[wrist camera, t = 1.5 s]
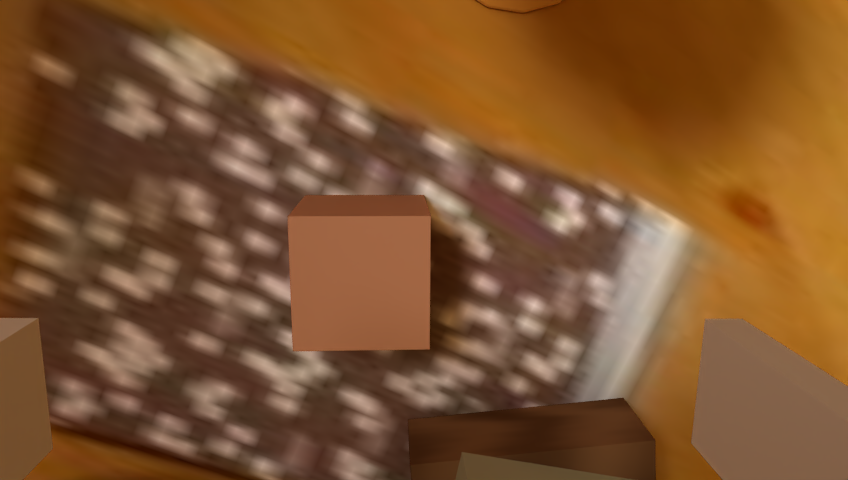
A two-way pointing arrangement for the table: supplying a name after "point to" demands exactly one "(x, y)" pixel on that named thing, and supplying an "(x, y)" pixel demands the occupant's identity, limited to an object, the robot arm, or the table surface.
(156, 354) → the table surface
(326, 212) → the block
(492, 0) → the cup
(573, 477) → the tower top
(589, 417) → the tower base
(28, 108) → the table surface
